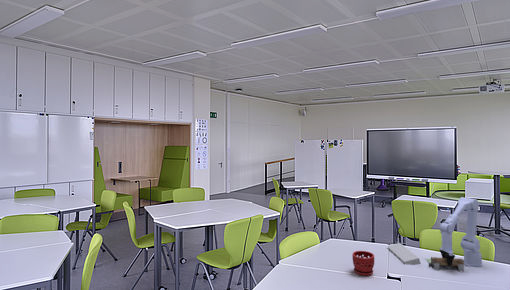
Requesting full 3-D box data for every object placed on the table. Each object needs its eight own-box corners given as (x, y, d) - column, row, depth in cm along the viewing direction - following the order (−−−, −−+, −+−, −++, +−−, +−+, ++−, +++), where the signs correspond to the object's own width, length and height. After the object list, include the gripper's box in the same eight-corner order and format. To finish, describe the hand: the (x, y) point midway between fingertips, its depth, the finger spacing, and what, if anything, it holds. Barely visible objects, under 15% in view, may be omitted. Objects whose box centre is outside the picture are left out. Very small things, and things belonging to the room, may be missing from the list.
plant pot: (348, 270, 206) (348, 252, 206) (365, 267, 210) (364, 249, 210) (361, 278, 194) (361, 258, 194) (379, 275, 198) (379, 255, 198)
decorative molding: (406, 268, 216) (421, 264, 215) (404, 261, 216) (419, 258, 215) (388, 252, 250) (401, 248, 249) (387, 246, 250) (399, 242, 249)
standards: (462, 268, 207) (462, 259, 207) (466, 271, 201) (466, 262, 202) (428, 266, 211) (428, 257, 212) (431, 269, 206) (431, 260, 206)
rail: (461, 264, 206) (461, 258, 206) (464, 266, 203) (464, 260, 203) (431, 262, 210) (430, 257, 210) (432, 264, 207) (432, 258, 207)
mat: (457, 260, 221) (457, 260, 221) (462, 265, 212) (462, 264, 212) (425, 259, 225) (425, 258, 225) (429, 263, 216) (429, 263, 216)
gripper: (436, 238, 214) (436, 259, 214) (444, 245, 200) (444, 267, 200) (447, 239, 213) (448, 259, 213) (456, 245, 199) (457, 267, 199)
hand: (447, 263), depth 206 cm, fingers open, 7 cm apart
